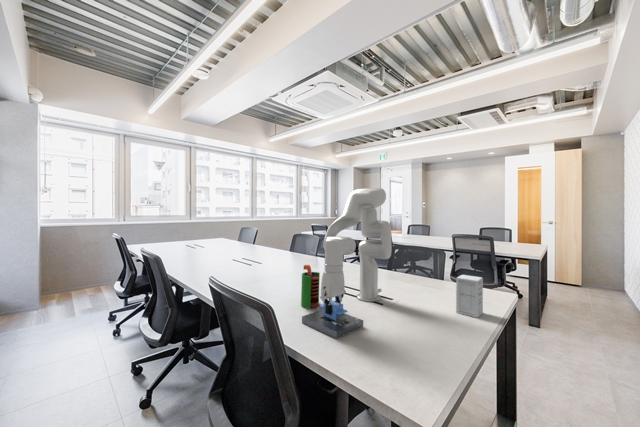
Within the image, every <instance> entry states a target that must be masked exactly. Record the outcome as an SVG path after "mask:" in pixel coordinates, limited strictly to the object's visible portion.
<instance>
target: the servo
mask: <svg viewBox="0 0 640 427" xmlns="http://www.w3.org/2000/svg"><path fill="white" fill-rule="evenodd" d="M335 301H336V300H332V301H331V305H332V315H329V314H326V313H325V306H326V304H324V302H323V301H322V302H323V303H322V305H321V304H319V308H321V309H322V310H323V316H326V317H328V318H331V319H333V320H338V319H339V320H341V321H342V320H345V314H347V312H348V310H347V309H344V303H342V302H341V303H338V302H335ZM343 313H345V314H343ZM333 320H332V321H333Z"/></svg>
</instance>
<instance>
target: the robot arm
mask: <svg viewBox="0 0 640 427" xmlns="http://www.w3.org/2000/svg"><path fill="white" fill-rule="evenodd" d="M386 200H387V193H386V191H385V189H384V188H381V187H380V188H379V187H376V188H375V187H374V188H372V187H369V188H368V187H367V188H357V189H355V190H353V191H351V192H350V193H349V195H348V197H347V200H346V202H345V205H344V209H343V211H342V214H341V216H340V217H338V218H337V219H336V220H334V221H333V222H332V223H331V224H330V225H329V227H328V229H326V230H327V231H325V232H326V233H325V235H324V238H323V243H322V244H323V249H324V271H323V272H322V276H321V284H320V295H319V300H321V301H322V302H324V304H326V306H325V313H326V314H329V315H332V305H331V301H333V298H334V299H335V300H334V301H335V302H338V303H341V304H342V302H343V298H344V296H345V294H346V289H345V288H346V287H345V285H346V284H345V274H344V269H343V268H344V255H346V256H348V255H352V254H353V253H354V252H355V251H356V247H357V244H356V241H355V240H354V239H353V238H352V237H349V236H337V235H338V234H339V233H340V232H341V231H344V230H346V229H349V228H352V227H354V226H356V225H358V224H359V223H360V231H361V236H363V238H368V239H364V240H361V241H360V242H359V244H358V253H359V254H358V255H359V293H358V294H357V295H356V298H357V299H358V300H360V301H363V302H367V303H368V302H372V303H373V302H378V301H380V300H381V295H380V294H379V293H381V292H382V291H383V290H382V289H381V288H379V287H378V280H379V278H378V276H379V266H378V263H377V261H376V260H375V259H377V260H378V259H380V260H388V259H390V258H391V257H392V249H393V248H392V226H391V224H390V222H389V221H387V220H378V214H377V213H378V212H377V209H376V208H379V207H380V206H382V205H384V204H385V201H386ZM369 238H370V239H369ZM371 239H372V240H371ZM373 239H380V240H373Z"/></svg>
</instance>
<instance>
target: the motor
mask: <svg viewBox="0 0 640 427" xmlns="http://www.w3.org/2000/svg"><path fill="white" fill-rule="evenodd" d="M304 270H306V272H302V273H301V291H300V292H301V294H300V296H301V297H300V298H301V299H300V307H302V308H304V309H312V308H313V309H315V308H318V307H320V274H321V273H320V272H318V271H312V268H311V265H309V264H304V265H303V271H304Z"/></svg>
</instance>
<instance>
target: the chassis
mask: <svg viewBox="0 0 640 427" xmlns="http://www.w3.org/2000/svg"><path fill="white" fill-rule="evenodd" d="M343 314H345V320H342V321H341V320H339V319H338V320H333V319H331V318H328V317H326V316H323V309H320V310H317V311H315V312H312V313H308V314H306V315H302V316H301V323H302V324H304V325H305V326H308V327H310V328H312V329H314V330H316V331H318V332H321V333H323V334H325V335H327V336H330V337H331V338H333V339H336V340H337V339H341V338H342V337H344V336H347V335H349V334H351V333H354V332H355V331H357V330H359V329H363V328H364V319H361V318H358V317H355V316H352V315H351V314H347V313H343ZM330 321H334V322H336V323H333V322H330Z"/></svg>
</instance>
